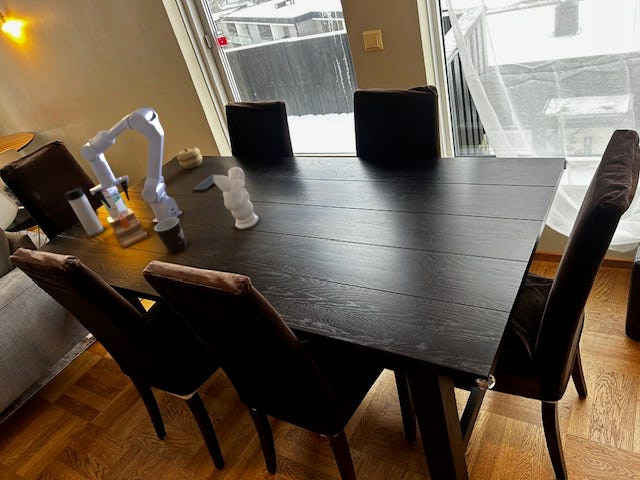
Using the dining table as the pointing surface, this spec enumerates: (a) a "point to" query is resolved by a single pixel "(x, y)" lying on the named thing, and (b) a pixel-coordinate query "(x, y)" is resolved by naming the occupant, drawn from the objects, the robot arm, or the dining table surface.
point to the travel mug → (84, 211)
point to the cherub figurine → (237, 197)
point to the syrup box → (114, 201)
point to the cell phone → (205, 184)
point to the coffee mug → (171, 235)
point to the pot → (189, 158)
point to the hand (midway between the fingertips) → (119, 203)
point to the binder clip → (124, 221)
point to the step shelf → (130, 233)
